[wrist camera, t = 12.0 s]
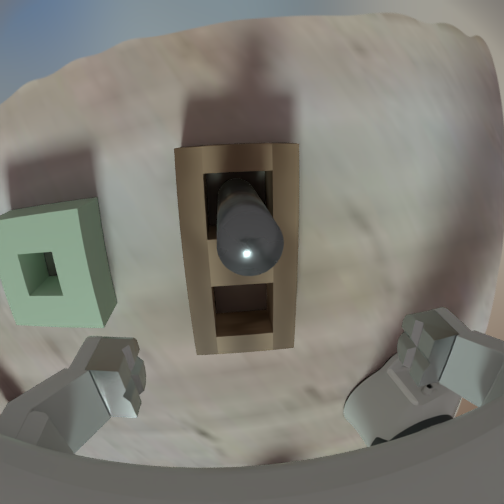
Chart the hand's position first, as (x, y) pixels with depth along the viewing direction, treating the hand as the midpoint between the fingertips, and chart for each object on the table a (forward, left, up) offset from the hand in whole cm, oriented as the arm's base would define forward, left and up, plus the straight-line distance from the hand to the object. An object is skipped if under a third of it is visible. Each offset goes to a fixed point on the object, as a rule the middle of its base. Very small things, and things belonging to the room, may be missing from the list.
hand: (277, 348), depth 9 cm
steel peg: (0, 0, -23) cm, 23 cm away
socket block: (+20, +5, -23) cm, 30 cm away
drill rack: (0, +5, -23) cm, 23 cm away
